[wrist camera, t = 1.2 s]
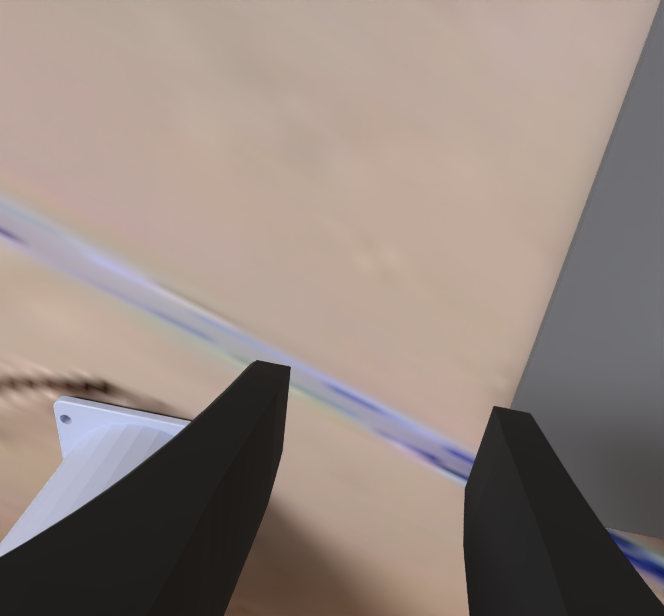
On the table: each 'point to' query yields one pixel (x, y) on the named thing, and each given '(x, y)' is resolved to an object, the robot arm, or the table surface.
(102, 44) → the table surface
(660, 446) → the mat
